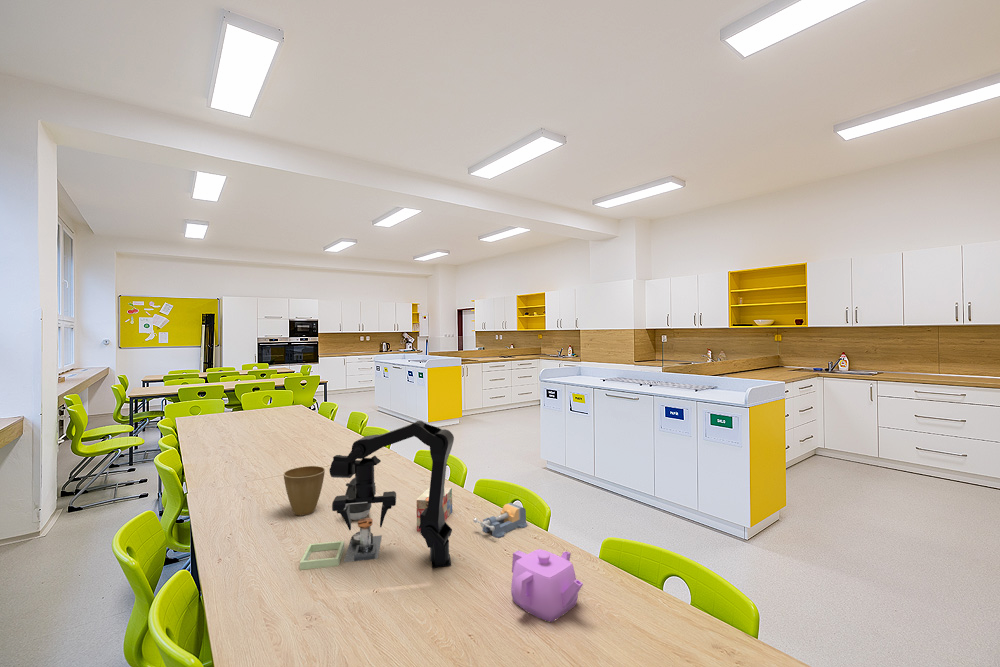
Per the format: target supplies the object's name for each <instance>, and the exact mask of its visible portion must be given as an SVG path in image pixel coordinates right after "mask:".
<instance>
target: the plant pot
mask: <svg viewBox="0 0 1000 667" xmlns="http://www.w3.org/2000/svg"><path fill="white" fill-rule="evenodd" d="M325 471H326V469H325V467H322V466H319V465H307V466H306V465H305V466H299V467H294V468H290V469H288V470H286V471H284V472H283V480H284V486H285V490H286V494H287V498H288V502H289V505H290V507H291V509H292V512H293V514H294V515H296V516H308V515H310V514H313V513H314V512H315V510H316V508H317V504H318V501H319V498H320V496H321V493H322V492H321V491H322V488H323V484H324V477H325Z"/></svg>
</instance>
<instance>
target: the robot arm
mask: <svg viewBox="0 0 1000 667" xmlns="http://www.w3.org/2000/svg"><path fill="white" fill-rule="evenodd" d="M413 437H415V438H417V439H418V440H420V441H421V443H423V444H424V445H426V446H428V447H429V453H430V458H431V461H432V464H431V465H432V466H431V474H430V481H429V482H430V484H429V488H430V491H429V501H428V508H426V509H425V510H424V511H423V512H422V514H421V515H420V526H419V529H420V528H421V529H420V536H422V537H423V539H424V540H425V544H426V547H427V548H429V560H430V562H431V568H432V569H434V568H442V567H449V566H450V567H451V566H452V561H451V554H450V540H449V538H450V536H451V535H452V532H453V529H452V528H451V526H450V525H449V524H448V523H447V522H446V520H445V515H444V510H443V507H442V503H443V493H444V488H445V483H446V472H447V464H448V459H449V457H450V454H451V451H452V447H453V444H454V440H455V438H454V434H453V433H452V432H451V431H450V430H449V429H445V428H443V429H442V428H440V427H437V426H435V425H432V424H428V423H426V422H424V421H422V420H417V421H415V422H413V423H410V424H407V425H405V426H402V427H400V428H397V429H394V430H390V431H387V432H385V433H381V434H372V435H371V434H370V435H366V436H363V437H362V438H359V439H358V440H356V441H354V442H353V443H352V446H351V450H350V452H349V453H348V455H341V454H336V455H334V456H333V458H332V462H331V464H330V467H329V475H330V477H331V478H333V479H334V478H339V479H352V477H353V476H354V478H355V481H353V491H355V497H356V498H350V499H348V495H345V494H344V495H336V496H335V497H334V498H333V501H332V504H331V510H332V512H336V513H337V514H340V516H341V517H342V519H343V520H344V521H345V525H346V526H347V529H348V530H349V531H351V530H352V519H351V518H350V507H349V505H357V504H369V503H371V504H379V503H381V509H380V510H381V511H380V520H379V528H383V527H382V526H383V524H384V520H385V516H387V515H386V514H387V512H388V511H389V510H391V509H392V507H394V506H396V504H397V493H396V491H394V490H392V491H383V493H382V495H377V496H376V491H377V490H376V489H377V488H376V482H375V466H377V465H378V464H380V463H381V459H380V458H378V457H377V456H376V455H373V456H372V457H368V456H370V455H372V454H373V453H376V452H377V451H379V450H380V449H382V448H384V447H385V448H386V447H387V446H390V445H394V444H396V443H399V442H402V441H405V440H407V439H410V438H413Z"/></svg>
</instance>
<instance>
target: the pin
mask: <svg viewBox="0 0 1000 667" xmlns="http://www.w3.org/2000/svg"><path fill="white" fill-rule="evenodd" d="M372 525H374V524H373V518H372V517H371V518H370V517H364V518H362V519H359V520H357V527H358V528H359V532H360V553H362V552H371V533H372V531H371V530H372V528H371V527H372Z"/></svg>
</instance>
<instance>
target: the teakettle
mask: <svg viewBox="0 0 1000 667" xmlns="http://www.w3.org/2000/svg"><path fill="white" fill-rule="evenodd" d="M571 554H572V553H571V552H569V551H563V552H562V553H561V556H559V555H557V554H555V553H552V552H550V551H548V550H545V549H540V548H538V549H535V550H533V551H530V552H529V553H526V552H524V551H521V550H519V549H518V550H515V552H512V567H511V572H512V576H511V577H512V578H511V587H510V590H511V591H510V592H511V597H512V600H513V603H514V604H516V605H517V606H518V605H519V606H520V607H519V606H518V607H519V608H521V609H522V608H523V609H522V610H524V611H525V610H526V611H525V612H527V613H528V612H529V613H528V614H530V613H531V614H530V615H532V616H533V617H536V618H539V619H540V618H541V619H540V620H542V619H543V620H542V621H544V620H546V621H545V622H547V621H550V622H549V623H553V622H555V621H556V620H555V619H557V618H558V619H560V618H561V617H563V616H564V615H566V614H567V613H568V612H569V611H570V609H571V608H572V609H573V608H574V607H576V605H577V602H578V598H579V595H578V594H579V592H580V590H581V588H582V587H583V585H584V583H583V582H582V581H581V580H580V579H577V576H576V572H575V569H574V568H575V567H574V565H573V563H572V562H571V561H570V559H571ZM572 609H571V610H572ZM567 611H568V612H567ZM566 612H567V613H566ZM563 614H564V615H563ZM562 615H563V616H562ZM560 616H561V617H560ZM559 617H560V618H559ZM558 619H557V620H558ZM554 620H555V621H554ZM552 621H553V622H552Z"/></svg>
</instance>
